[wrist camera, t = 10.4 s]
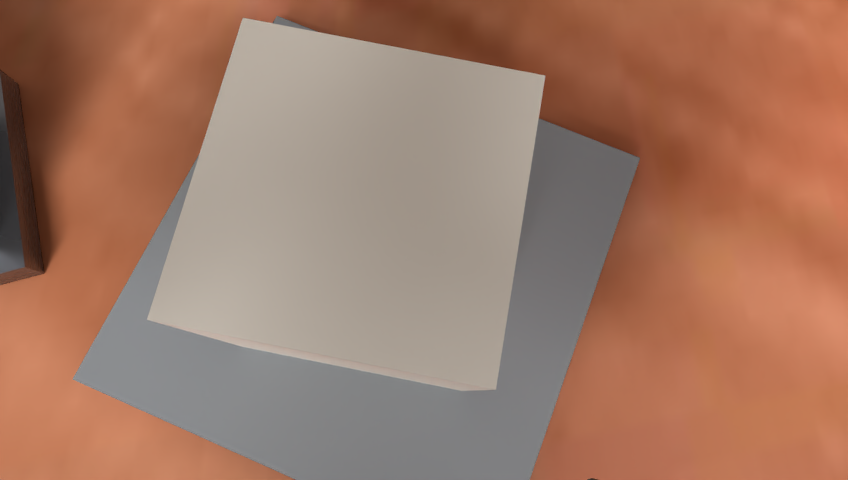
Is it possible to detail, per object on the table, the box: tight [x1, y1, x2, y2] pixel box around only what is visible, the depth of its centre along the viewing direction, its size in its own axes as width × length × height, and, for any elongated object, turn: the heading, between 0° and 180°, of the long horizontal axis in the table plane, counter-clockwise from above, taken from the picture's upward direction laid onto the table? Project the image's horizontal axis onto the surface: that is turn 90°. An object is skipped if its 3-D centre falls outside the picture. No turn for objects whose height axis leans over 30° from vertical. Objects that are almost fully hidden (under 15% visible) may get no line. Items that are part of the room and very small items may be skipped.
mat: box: [73, 16, 640, 480], centre depth 19 cm, size 14×14×1 cm
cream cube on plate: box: [147, 18, 545, 391], centre depth 16 cm, size 7×7×7 cm
